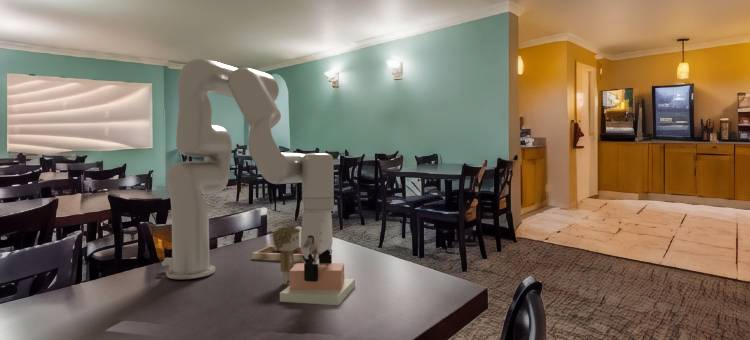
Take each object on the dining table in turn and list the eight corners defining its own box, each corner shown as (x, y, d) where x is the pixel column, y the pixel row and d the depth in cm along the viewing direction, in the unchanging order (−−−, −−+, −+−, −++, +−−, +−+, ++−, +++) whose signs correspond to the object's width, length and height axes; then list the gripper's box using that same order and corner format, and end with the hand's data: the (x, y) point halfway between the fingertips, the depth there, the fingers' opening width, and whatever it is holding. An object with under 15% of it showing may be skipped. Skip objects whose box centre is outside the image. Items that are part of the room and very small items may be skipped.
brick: (290, 289, 96) (289, 270, 96) (296, 281, 103) (296, 263, 103) (341, 289, 96) (341, 270, 96) (344, 281, 103) (344, 263, 103)
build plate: (279, 301, 94) (279, 292, 94) (303, 283, 108) (303, 276, 108) (338, 305, 91) (338, 296, 91) (355, 286, 105) (354, 278, 105)
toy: (293, 286, 105) (292, 228, 105) (269, 285, 107) (268, 227, 106) (304, 278, 113) (303, 223, 112) (281, 277, 114) (280, 223, 114)
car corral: (252, 264, 129) (252, 253, 129) (270, 255, 141) (270, 245, 141) (312, 266, 125) (312, 255, 125) (325, 257, 137) (325, 247, 137)
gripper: (316, 201, 108) (316, 265, 109) (288, 208, 91) (289, 284, 92) (343, 201, 107) (343, 267, 107) (320, 208, 90) (321, 287, 90)
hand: (318, 275), depth 99 cm, fingers open, 9 cm apart
